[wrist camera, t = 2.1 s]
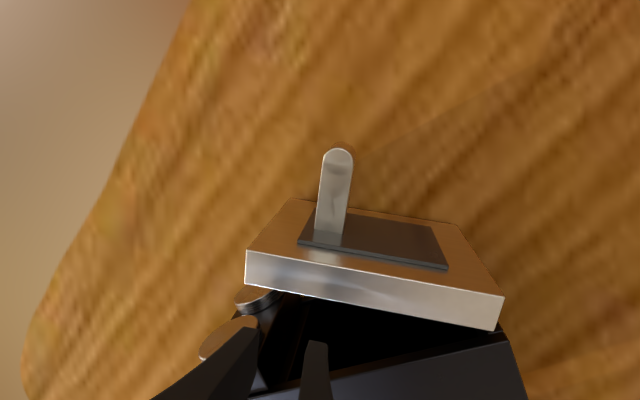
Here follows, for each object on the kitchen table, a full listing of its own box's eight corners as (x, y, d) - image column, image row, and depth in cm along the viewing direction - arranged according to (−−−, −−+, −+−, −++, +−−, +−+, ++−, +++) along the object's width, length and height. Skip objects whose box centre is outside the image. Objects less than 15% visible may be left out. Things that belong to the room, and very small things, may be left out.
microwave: (243, 281, 23) (181, 369, 16) (445, 216, 20) (491, 287, 12) (313, 418, 26) (288, 551, 18) (503, 381, 22) (570, 525, 15)
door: (296, 129, 20) (251, 145, 12) (475, 154, 18) (542, 188, 11) (287, 221, 21) (243, 284, 14) (450, 249, 20) (494, 332, 13)
